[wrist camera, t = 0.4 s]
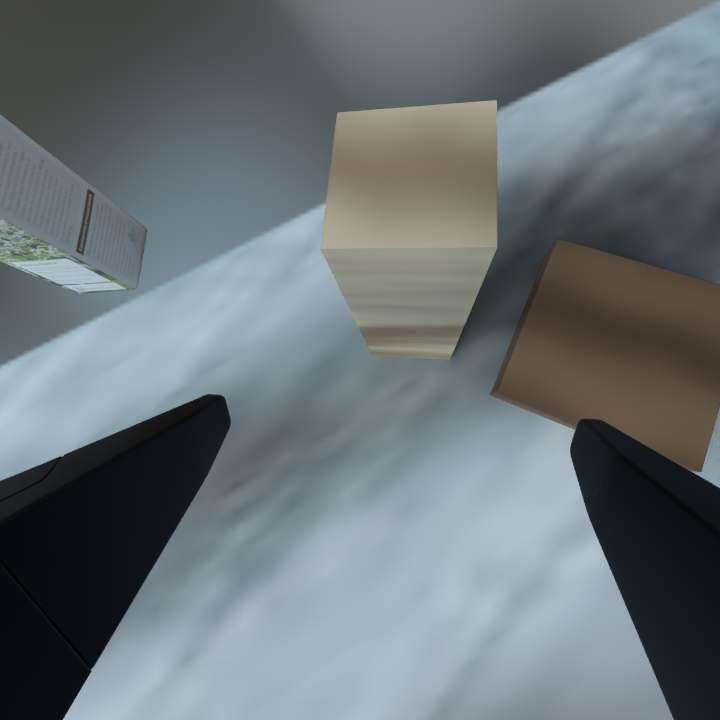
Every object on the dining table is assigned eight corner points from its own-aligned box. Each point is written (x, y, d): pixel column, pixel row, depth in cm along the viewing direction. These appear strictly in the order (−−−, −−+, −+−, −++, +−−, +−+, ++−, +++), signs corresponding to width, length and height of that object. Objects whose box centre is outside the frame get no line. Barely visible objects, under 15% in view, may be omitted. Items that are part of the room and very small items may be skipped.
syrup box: (149, 227, 28) (-111, 16, 14) (138, 293, 27) (-162, 132, 13) (89, 233, 29) (-211, 40, 15) (75, 297, 28) (-269, 151, 14)
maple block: (450, 359, 22) (497, 247, 9) (372, 355, 23) (320, 248, 10) (452, 286, 23) (496, 100, 10) (378, 286, 24) (337, 112, 11)
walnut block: (664, 468, 19) (701, 472, 17) (488, 396, 21) (497, 390, 19) (712, 311, 21) (751, 294, 18) (542, 260, 23) (557, 238, 20)
